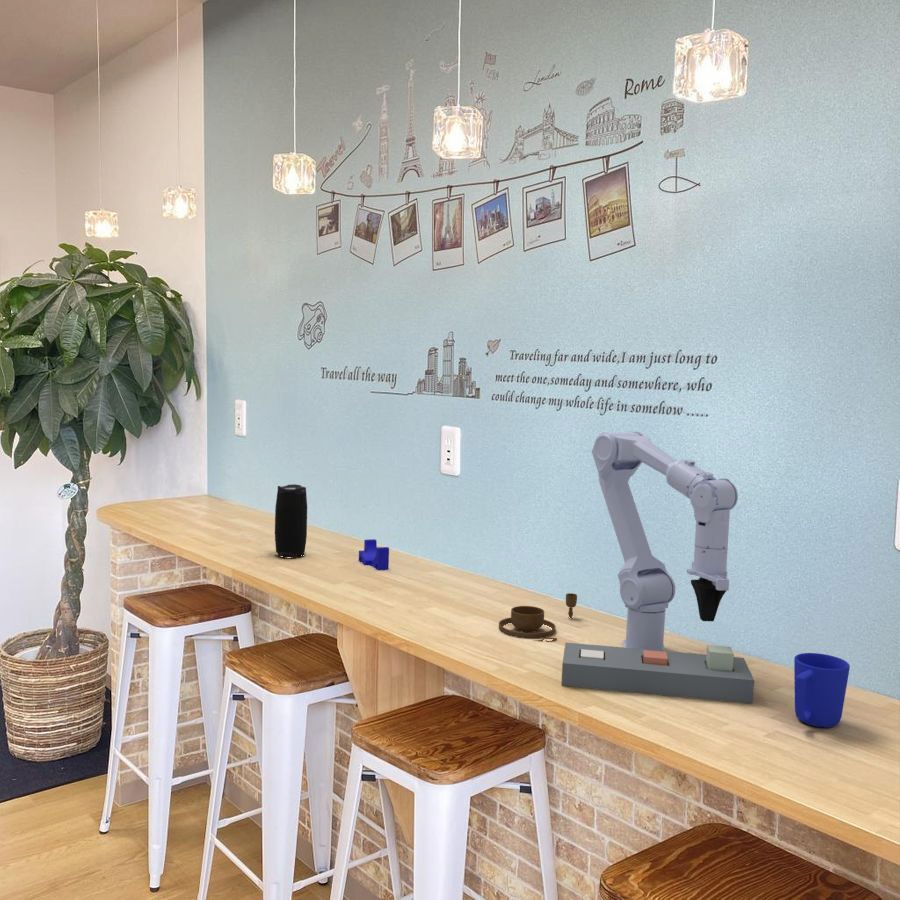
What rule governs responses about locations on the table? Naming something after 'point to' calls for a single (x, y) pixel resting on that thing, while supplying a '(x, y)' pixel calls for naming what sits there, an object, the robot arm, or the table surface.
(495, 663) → the table surface
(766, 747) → the table surface
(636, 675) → the button panel
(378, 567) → the blue blocky piece
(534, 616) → the place setting
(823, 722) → the mug
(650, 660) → the terracotta button
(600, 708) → the table surface
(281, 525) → the portable speaker
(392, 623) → the table surface
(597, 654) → the white cube
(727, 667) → the sage button
